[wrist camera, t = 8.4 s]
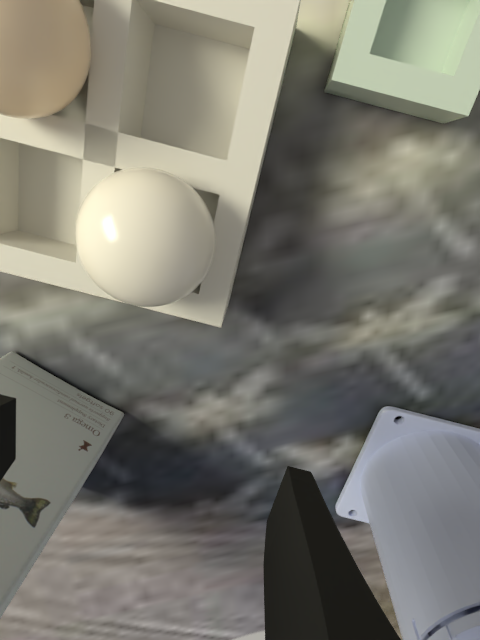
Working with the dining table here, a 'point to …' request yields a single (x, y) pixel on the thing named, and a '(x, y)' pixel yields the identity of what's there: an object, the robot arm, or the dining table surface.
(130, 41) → the carton
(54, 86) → the brown egg
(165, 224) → the cream egg
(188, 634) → the dining table surface
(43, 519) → the supplement box
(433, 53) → the mint square frame
